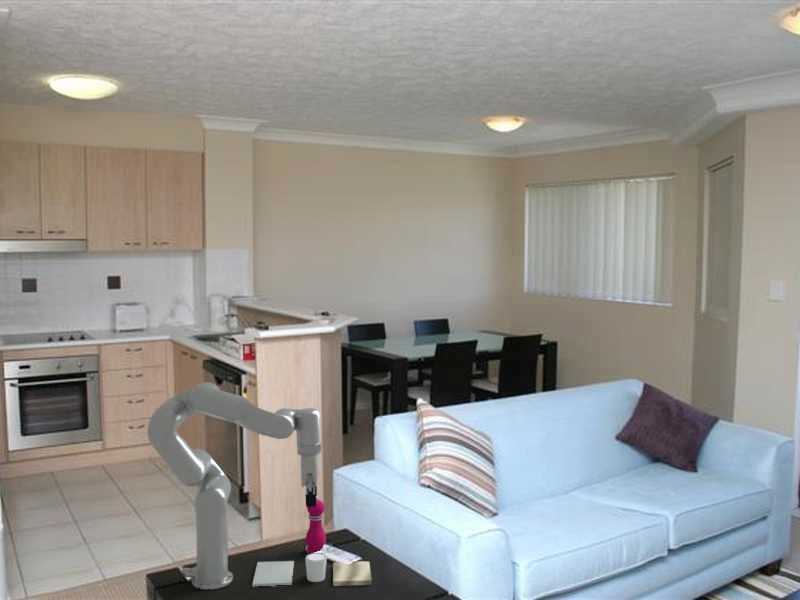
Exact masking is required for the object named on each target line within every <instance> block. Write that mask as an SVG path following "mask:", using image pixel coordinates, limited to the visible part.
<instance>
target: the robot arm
mask: <svg viewBox="0 0 800 600" xmlns="http://www.w3.org/2000/svg"><path fill="white" fill-rule="evenodd" d="M198 414H200V415H204V416H208V417H212V418H214V419H219V420H222V421H226V422H230V423H232V424H236V425H238V426H240V427H242V428H244V429H246V430H248V431H250V432H253V433H255V434H259V435H261V436H265V437H270V438H273V439H278V440H283V439H287V438H289V437H291V436H292V434H293V433H294V431H296V447H297V455H298V456H300V478H301V479H300V480H301V487H302V488H304V487H305V494H304V495H305V507H306V508H307V507H315V506H316V496H318V490H317V489H318V488H317V487H318V477H319V476H318V475H319V456H318V455H319V454H321V453H322V437H321V436H322V435H321V413H320V411H319V410H318V409H317V408H309V407H308V408H307V407H306V408H301V409H299V408H298V409H296V408H286V407H285V408H281V409H280V408H279V409H278V410H276V411H275V412H272V411H268V410H266V409H263V408H259V407H258V406H256V405H255V404H253V403H252V402H251V401H250V400H249V399H248V398H247V397H244V396H242V395H239V394H235V393H233V392H227V391H224V390H220V389H219V387H218V385H217V384H215V383H214V382H208V381H205V382H201V383H198V384H197V385H194V386H193V387H191V388H188V389H187V390H185V391H182V392H181V393H178V394H177V395H174V396H172V397H170V398H168V399H167V400H165V401H164V402H163V403H162V404H160V406H158V407H157V408H156V410H154V412H153V413H152V415H151V416H150V419H149V421H148V425H147V438H148V440H149V442H150V444H151V446H152V447H153V449H154V450H155V451H156V453H158V455H159V457H160V458H161V459H162V460H163V462H164V463H165V465H167V467H168V468H169V469H170V470H171V472H172V473H173V475H174V476H175V477H176V478H177V479H178V482H180V483H181V484H182V485H184V486H186V487H197V488H198V490H197V493H196V495H195V499H194V500H195V501H194V510H195V522H196V528H195V529H196V530H195V531H196V566H193V567H183V568H182V575H184V577H185V578H190V577H192V578H191V584H192V586H193V587H194V588H196V589H199V588H200V590H208V589H209V590H216V589H221V588H224V587H226V586H228V585H230V584H231V583H232V582H233V579H234V575H233V573H232V572H231V571H229V560H228V559H229V555H228V554H229V553H228V552H229V551H228V550H229V549H228V548H229V543H228V542H229V539H228V537H229V536H228V535H229V534H228V533H229V530H228V524H229V523H228V521H229V520H228V500H229V498H230V495H231V492H232V485H231V481H230V479H229V478H228V476H227V475H226V473H224V471H223V469H222V468H221V467H220V466H219V465H218V463H217V462H216V461H215V460H214V458H213V457H212V456H211V455H210V454H209V453H208V452H207V451H205V450H203V449H201V448H191V446H190V445H189V444H188V443H187V441H186V440H185V439H184V438H183V437H182V436H181V435H180V434H179V433H178V430H177V429H178V428H179V426H180V425H181V424H182V423H183V422H184V421H186V420H188V419H190V418H192V417H194V416H196V415H198ZM209 590H208V591H209Z"/></svg>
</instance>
